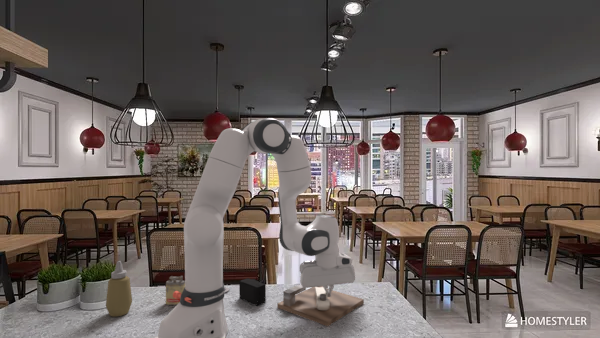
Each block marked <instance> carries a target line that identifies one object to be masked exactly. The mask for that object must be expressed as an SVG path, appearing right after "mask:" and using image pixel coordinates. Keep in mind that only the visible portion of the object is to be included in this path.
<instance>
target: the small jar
mask: <svg viewBox="0 0 600 338" xmlns="http://www.w3.org/2000/svg"><path fill="white" fill-rule="evenodd" d="M183 279H184V276H183V275H180V276H173V275H171V276H169V277H168V280H167V281H165V305H168V306H169V305H172V306H173V305H174V306H177V304H178V303H179V302H180V299H176V298H173V296H172V295H173V293H174V292H175V291H178V292H181V294H182V292H183V290H184V288H185V279H184V280H183Z"/></svg>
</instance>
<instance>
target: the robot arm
mask: <svg viewBox="0 0 600 338" xmlns="http://www.w3.org/2000/svg"><path fill="white" fill-rule="evenodd" d="M210 151H211V152H210V153H209V155H208V158H207V161H206V163H205V166H204V169H203V171H202V175H201V176H200V179H199V182H198V185H197V188H196V190H195V193H194V195H193V198H192V201H191V202H190V206H189V208H188V211H187V213H186V217H185V219H184V224H183V243H184V244H183V245H184V247H183V248H184V249H183V250H184V281H185V288H184V290H183V292H182V294H181V292H178V291H175V292H174V293H173V295H172V296H173V298H176V299H180V302H179V303H178V304H177V305H175V307H174V308H173V309H172V310H171V311H170V312H169V313H168V314H167V315H166V316H165V317H164V318H163V319H162V320H161V322H160V323H159V328H158V333H157V336H154V338H226V336H227V334H228V333H229V325H228V322H227V319H226V318H227V317H226V313H225V304H224V303H225V302H224V298H225V293H224V287H225V283H224V276H223V275H224V273H223V272H224V270H223V269H224V267H223V264H224V263H223V262H224V261H223V260H224V258H223V257H224V238H225V237H224V236H225V235H224V229H225V227H224V226H225V225H224V224H225V223H224V217H225V215H226V212H227V209H228V208H229V206H230V204H231V203H230V202H231V201H232V199H233V197H234V195H235V193H236V190H237V187H238V184H239V182H240V179H241V177H242V174H243V170H244V168H245V165H246V161H247V160H248V159H249V156H250V155H251V154H252V153H259V154H271V155H272V157H273V159H274V161H275V163H276V168H277V169H276V170H277V175H278V184H279V186H278V190H277V201H278V210H279V219H280V220H279V221H280V229H279V236H278V238H279V239H278V240H279V243H280V245H281V247H282V248H283V249H285V250H286V251H291V252H295V253H299V255H300V254H301V255H304V256H308V257H314V259H312V260H304V261H303V262H301V263H300V264H299V272H300V276H299V278H300V279H299V284H300V285H302V287H303V288H306V289H310V288H312V287H319V286H323V288H324V290H325V291H326V295H327V297H331V292H332V290H333V291H334V288H335V287H334V286H336V285H343V284H344V285H345V284H353V283H354V282H355V281H356V273H355V266H354V265H353V259H352V257H351V256H350V255H347V254H346V253H342V252H340V248H339V241H340V234H339V233H340V230H339V229H340V228H339V223H338V219H337V218H336V217H335V216H333V215H327V214H317V215H316V216H315V219H314V220H313V221H312V222H310V223H309V224H308V225H302V224H301V223H300V222H299V219H298V216H297V215H298V214H297V203H296V201H297V197H298V196H299V195H301V194H302V193H304V192H306V191H307V190H308V189H309V187H310V185H311V183H312V170H311V164H310V158H309V155H308V153H307V149H306V146H305V144H304V141H303V139H302V138H301V137H299V136H297V135H292V134H291V133H290V132H289V131H288V130H287V128H286V126H285V125H284V124H283V122H281V121H280V120H278V119H276V118H273V117H268V118H267V117H266V118H259V119H255V120H254V121H251V122H249V123H247V124H246V125H245V126H244V127H242V128H241V129H238V128H233V127H230V128H226V129H223V130H222V131H221V132H220V134H219V135H218V138H217V139H216V141H215V143H214V145H213V147H212V149H211V150H210ZM327 289H328V290H327Z"/></svg>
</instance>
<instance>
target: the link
mask: <svg viewBox="0 0 600 338" xmlns="http://www.w3.org/2000/svg"><path fill="white" fill-rule="evenodd" d="M320 294H326V291H325V290H324V288H323V286H319V287H315V295H316V308H317V309H318V310H323V311H324V310H328V309H329V308H330V300H329V299H327V295H326V300H325V301H321V300H320Z"/></svg>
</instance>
